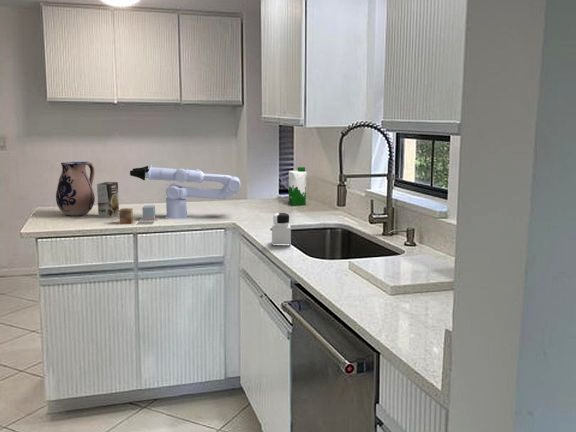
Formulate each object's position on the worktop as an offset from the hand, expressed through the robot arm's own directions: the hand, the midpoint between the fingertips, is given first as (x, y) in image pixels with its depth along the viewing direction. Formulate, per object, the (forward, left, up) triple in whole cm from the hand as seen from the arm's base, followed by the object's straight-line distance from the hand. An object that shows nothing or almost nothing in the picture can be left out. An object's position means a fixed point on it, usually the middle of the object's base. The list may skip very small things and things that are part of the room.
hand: (131, 171), depth 274 cm
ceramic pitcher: (+28, -12, -22) cm, 38 cm away
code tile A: (+1, +13, -22) cm, 25 cm away
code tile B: (-8, +5, -22) cm, 24 cm away
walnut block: (+1, +13, -21) cm, 25 cm away
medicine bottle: (-65, +57, -22) cm, 89 cm away
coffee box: (+12, -4, -22) cm, 25 cm away
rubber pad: (-8, +14, -22) cm, 27 cm away
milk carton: (-81, -33, -22) cm, 90 cm away
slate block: (-8, +5, -21) cm, 23 cm away
